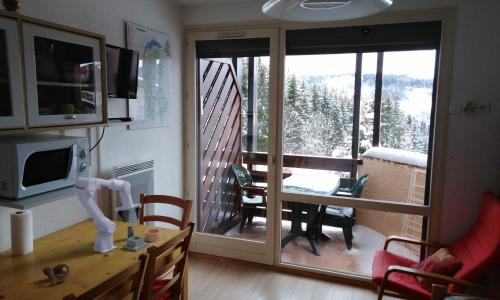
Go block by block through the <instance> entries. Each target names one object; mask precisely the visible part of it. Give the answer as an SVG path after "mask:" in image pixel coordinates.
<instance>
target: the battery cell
mask: <svg viewBox="0 0 500 300" xmlns="http://www.w3.org/2000/svg"><path fill="white" fill-rule="evenodd" d="M134 227H135V225H129V226H126V229H127V239H128V238H131V237H133V236H135V228H134Z"/></svg>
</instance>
